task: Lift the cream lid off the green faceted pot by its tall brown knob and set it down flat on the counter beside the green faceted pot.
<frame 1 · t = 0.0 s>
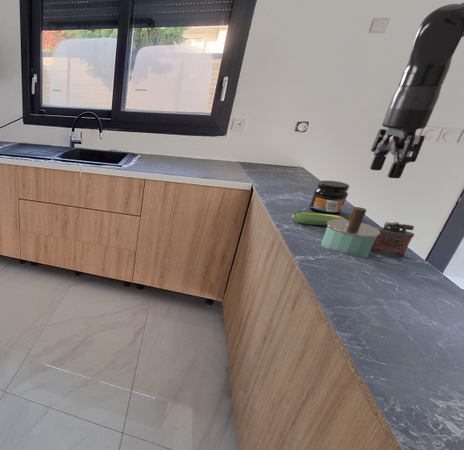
hand: (383, 173, 80), 27 cm above the worktop, tool pointing down, fingers open, 8 cm apart
edible corn: (322, 225, 116), on the worktop
lid: (352, 228, 95), point 7 cm above the worktop, touching green faceted pot
lighter: (385, 253, 96), on the worktop
supplement container: (324, 212, 128), on the worktop
green faceted pot: (343, 250, 98), on the worktop
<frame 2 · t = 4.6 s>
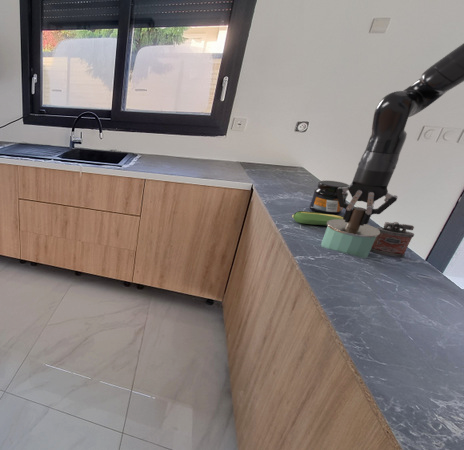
hand: (354, 222, 95), 9 cm above the worktop, tool pointing down, fingers closed on lid, 3 cm apart
lid: (352, 228, 95), point 8 cm above the worktop, touching gripper, green faceted pot
everything else where it was.
when the fingers open (3 cm above the worktop, at t = 11.0 s): lid stays where it is, point 1 cm above the worktop.
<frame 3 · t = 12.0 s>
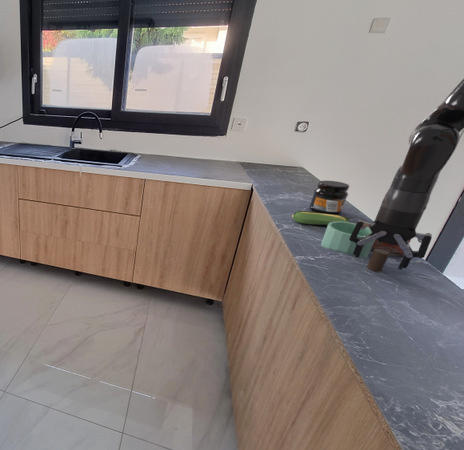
hand: (377, 262, 84), 4 cm above the worktop, tool pointing down, fingers open, 8 cm apart
lid: (372, 272, 85), point 1 cm above the worktop
everything else where it was.
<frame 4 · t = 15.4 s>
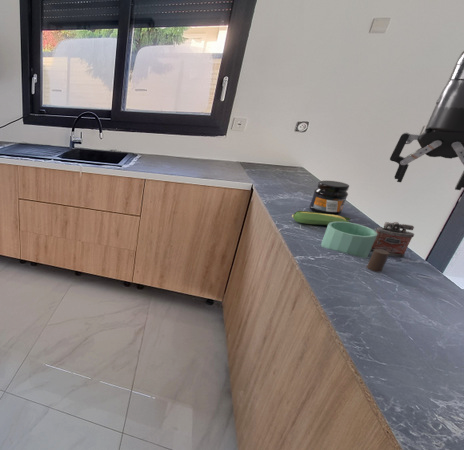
hand: (426, 185, 67), 28 cm above the worktop, tool pointing down, fingers open, 8 cm apart
nothing on the worktop moved.
at the end: lid inside the target area (0.1 cm from its centre), point 0.6 cm above the worktop; lid tilted 0°; the gripper is holding nothing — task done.
